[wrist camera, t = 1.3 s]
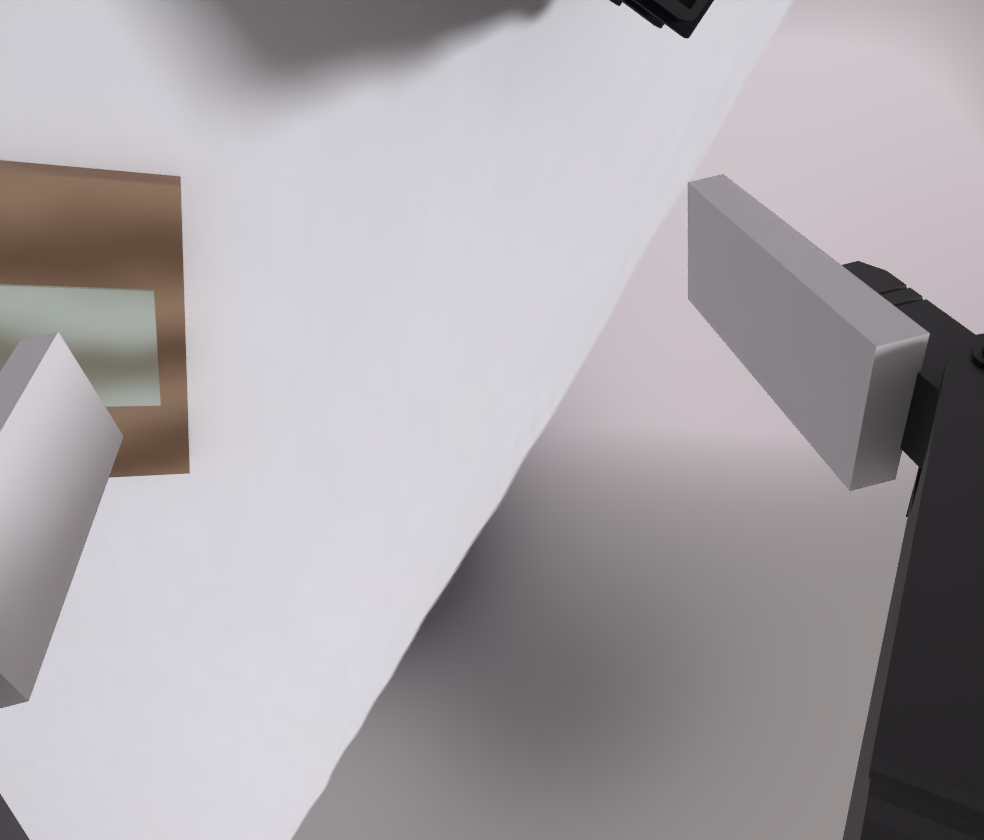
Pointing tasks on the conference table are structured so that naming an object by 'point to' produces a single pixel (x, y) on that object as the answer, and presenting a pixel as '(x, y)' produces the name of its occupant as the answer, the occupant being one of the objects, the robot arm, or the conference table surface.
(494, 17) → the conference table surface
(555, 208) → the conference table surface
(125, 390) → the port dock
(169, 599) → the conference table surface
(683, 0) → the magazine
